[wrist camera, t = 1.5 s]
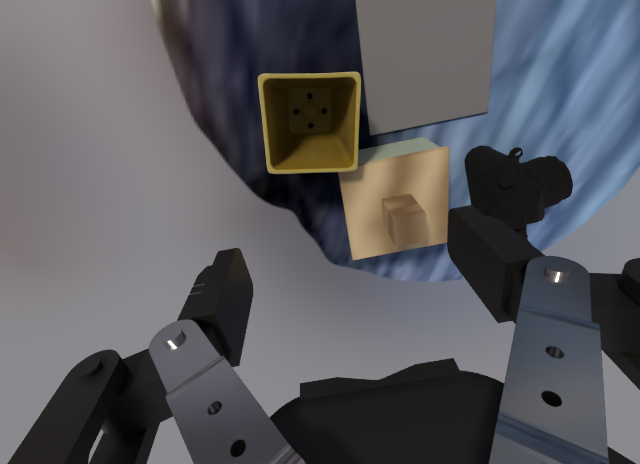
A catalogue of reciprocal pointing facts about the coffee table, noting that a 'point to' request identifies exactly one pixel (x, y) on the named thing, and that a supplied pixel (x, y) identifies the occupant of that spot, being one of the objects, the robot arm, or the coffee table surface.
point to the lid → (397, 203)
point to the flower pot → (310, 121)
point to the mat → (425, 60)
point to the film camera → (515, 185)
